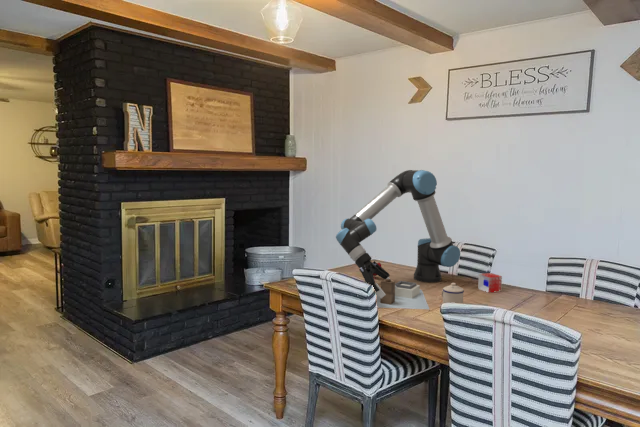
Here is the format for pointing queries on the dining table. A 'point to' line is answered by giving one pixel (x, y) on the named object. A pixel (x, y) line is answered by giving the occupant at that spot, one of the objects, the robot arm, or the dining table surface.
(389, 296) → the walnut pillar
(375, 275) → the decorative bird figurine
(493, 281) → the puzzle cube
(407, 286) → the base brick
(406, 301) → the mat
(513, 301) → the dining table surface
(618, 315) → the dining table surface
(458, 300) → the teacup with lid
